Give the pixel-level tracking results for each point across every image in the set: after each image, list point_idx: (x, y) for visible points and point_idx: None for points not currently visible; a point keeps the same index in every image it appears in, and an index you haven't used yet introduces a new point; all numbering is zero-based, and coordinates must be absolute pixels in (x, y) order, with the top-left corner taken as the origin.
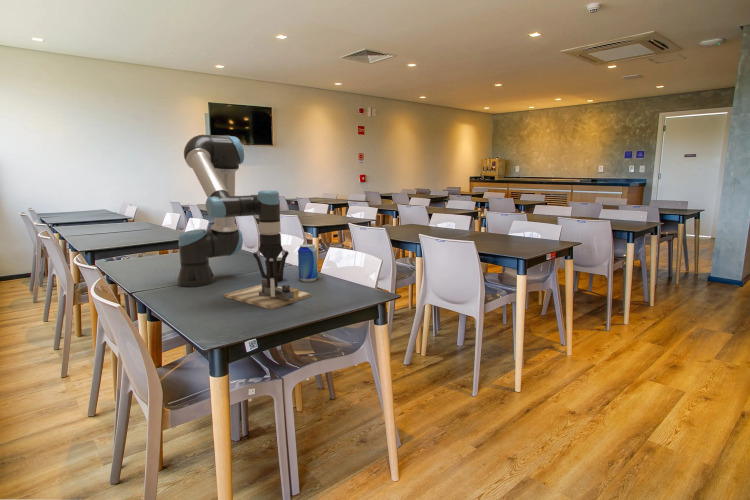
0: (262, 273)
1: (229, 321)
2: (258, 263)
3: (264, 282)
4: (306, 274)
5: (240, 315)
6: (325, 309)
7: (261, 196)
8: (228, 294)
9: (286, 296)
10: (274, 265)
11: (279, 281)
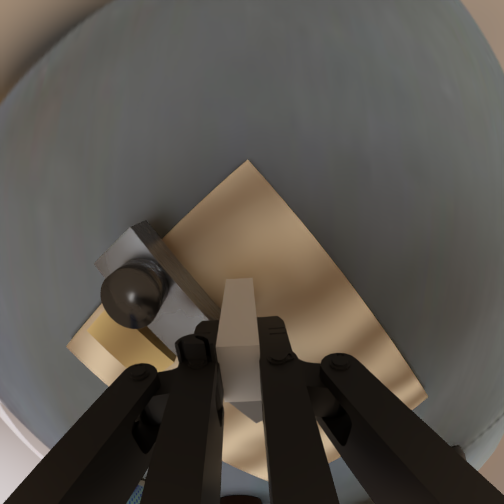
0: (363, 388)
1: (421, 62)
2: (464, 473)
3: None
4: (133, 495)
5: (397, 116)
6: (19, 131)
7: None
8: (418, 394)
9: (145, 231)
10: (184, 490)
11: (226, 497)
